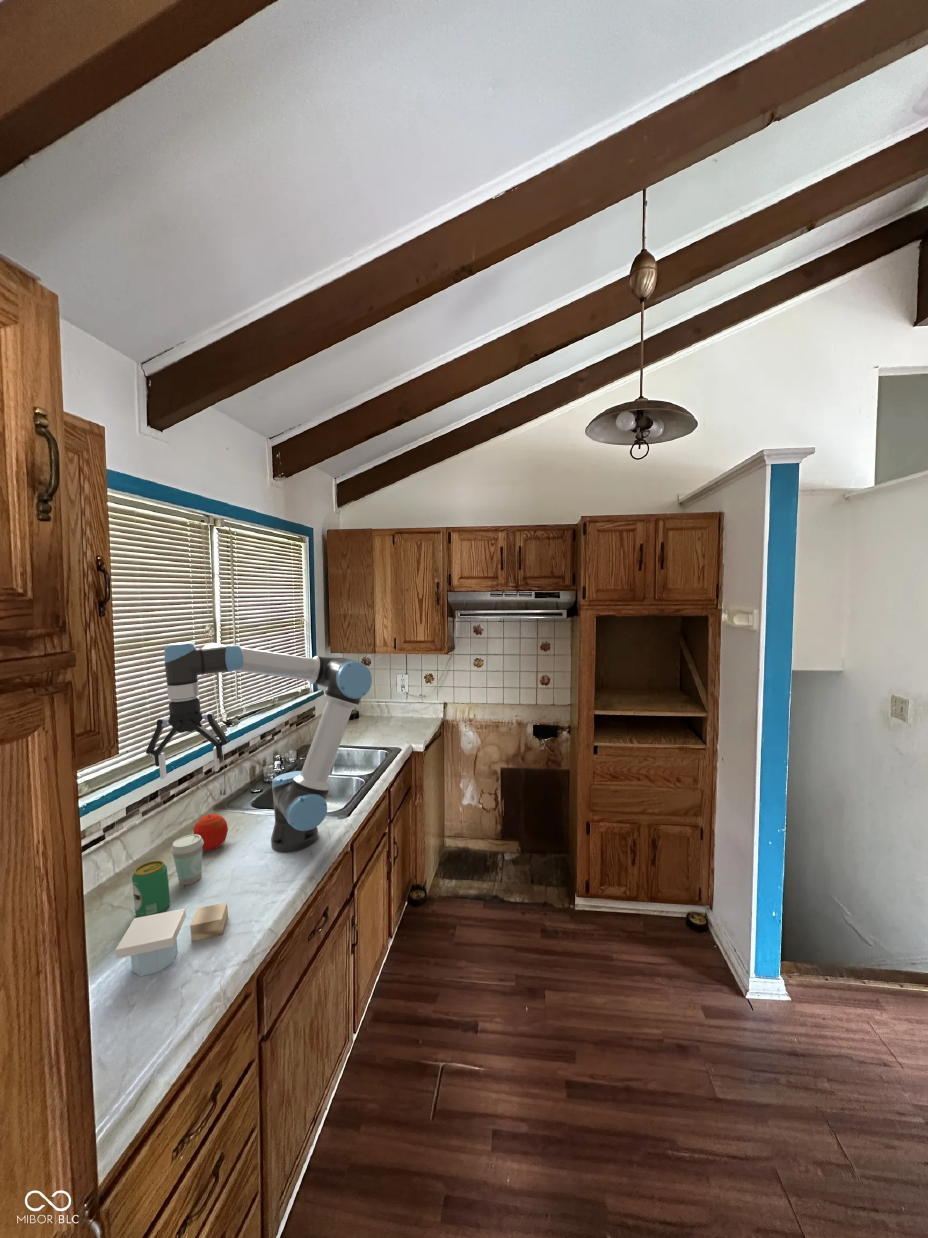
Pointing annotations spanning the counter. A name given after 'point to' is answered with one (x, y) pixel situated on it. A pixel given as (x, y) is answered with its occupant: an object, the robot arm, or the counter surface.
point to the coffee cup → (188, 858)
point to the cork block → (209, 921)
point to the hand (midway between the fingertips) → (190, 773)
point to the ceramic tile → (151, 933)
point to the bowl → (153, 960)
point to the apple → (211, 831)
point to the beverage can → (151, 888)
